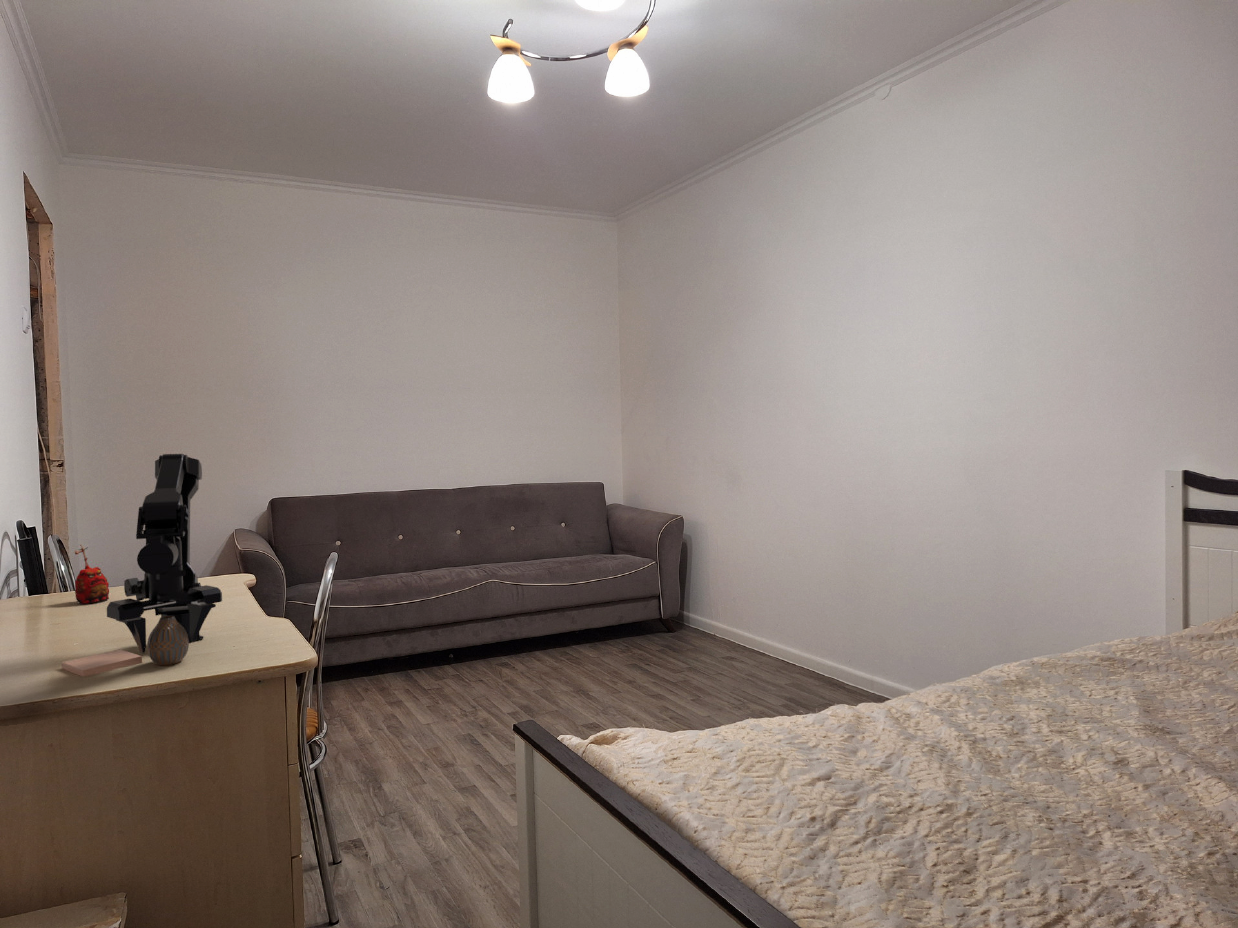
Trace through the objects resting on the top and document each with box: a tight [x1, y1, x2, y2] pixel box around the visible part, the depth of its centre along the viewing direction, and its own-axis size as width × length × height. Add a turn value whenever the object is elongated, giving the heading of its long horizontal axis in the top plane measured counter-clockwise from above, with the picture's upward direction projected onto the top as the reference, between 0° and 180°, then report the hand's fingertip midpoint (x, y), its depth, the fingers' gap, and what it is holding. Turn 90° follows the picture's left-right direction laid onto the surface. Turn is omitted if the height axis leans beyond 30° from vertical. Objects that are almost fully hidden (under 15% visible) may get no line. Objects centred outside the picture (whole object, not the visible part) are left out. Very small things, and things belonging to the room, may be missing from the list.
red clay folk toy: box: [74, 544, 110, 605], centre depth 206 cm, size 8×7×15 cm
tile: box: [61, 649, 143, 678], centre depth 150 cm, size 10×2×9 cm
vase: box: [146, 616, 190, 666], centre depth 151 cm, size 7×7×9 cm
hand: (168, 646), depth 151 cm, fingers open, 9 cm apart
